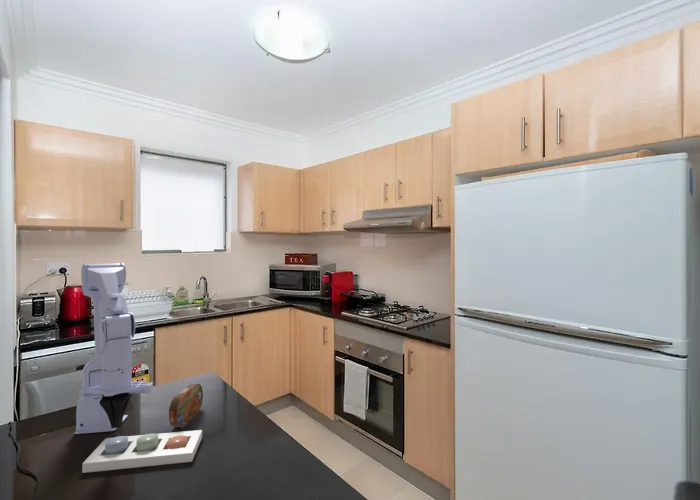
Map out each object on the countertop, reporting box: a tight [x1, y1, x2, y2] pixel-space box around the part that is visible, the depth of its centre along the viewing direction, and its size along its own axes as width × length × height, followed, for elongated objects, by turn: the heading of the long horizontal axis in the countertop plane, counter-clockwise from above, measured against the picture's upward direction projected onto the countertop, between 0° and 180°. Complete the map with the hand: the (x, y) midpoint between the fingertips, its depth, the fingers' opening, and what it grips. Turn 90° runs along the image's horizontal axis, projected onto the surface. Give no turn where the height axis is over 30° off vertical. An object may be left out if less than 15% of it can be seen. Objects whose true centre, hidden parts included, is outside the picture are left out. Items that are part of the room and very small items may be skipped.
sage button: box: [136, 433, 158, 452], centre depth 81 cm, size 4×4×2 cm
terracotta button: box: [167, 435, 188, 449], centre depth 82 cm, size 4×4×2 cm
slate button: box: [105, 435, 128, 455], centre depth 80 cm, size 4×4×2 cm
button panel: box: [81, 429, 203, 474], centre depth 81 cm, size 22×10×2 cm, turn 101°
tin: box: [168, 383, 204, 428], centre depth 97 cm, size 15×3×8 cm, turn 179°
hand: (116, 425), depth 80 cm, fingers closed
